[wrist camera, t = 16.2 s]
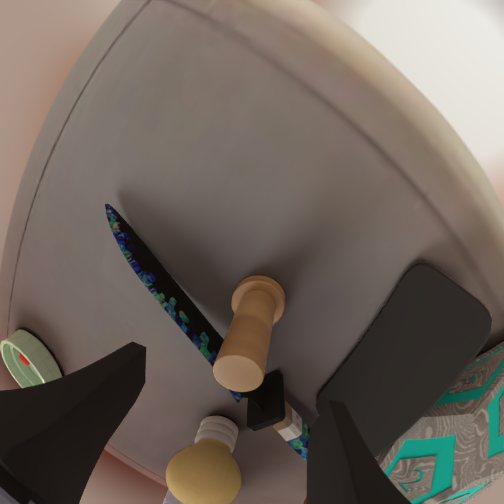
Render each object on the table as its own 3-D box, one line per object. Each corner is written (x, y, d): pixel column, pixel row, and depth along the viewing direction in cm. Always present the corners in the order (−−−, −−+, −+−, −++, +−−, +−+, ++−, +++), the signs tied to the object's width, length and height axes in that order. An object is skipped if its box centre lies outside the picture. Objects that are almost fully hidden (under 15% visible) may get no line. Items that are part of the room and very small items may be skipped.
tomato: (36, 356, 28) (25, 353, 27) (32, 348, 27) (20, 344, 26) (33, 369, 26) (21, 365, 26) (28, 361, 25) (15, 357, 24)
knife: (345, 451, 23) (346, 485, 18) (318, 460, 23) (316, 493, 19) (149, 180, 21) (113, 180, 16) (124, 204, 22) (87, 208, 17)
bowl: (71, 399, 29) (57, 415, 26) (24, 368, 30) (11, 380, 26) (58, 348, 26) (40, 364, 23) (10, 316, 26) (-7, 328, 23)
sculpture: (490, 323, 25) (309, 498, 23) (499, 247, 19) (244, 494, 16) (560, 371, 14) (363, 571, 12) (603, 303, 8) (317, 612, 5)
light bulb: (191, 433, 26) (162, 506, 17) (188, 396, 24) (150, 480, 15) (250, 445, 26) (232, 523, 16) (256, 410, 24) (236, 502, 14)
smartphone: (308, 404, 22) (415, 253, 17) (315, 401, 22) (419, 254, 18) (361, 468, 16) (501, 318, 11) (366, 463, 17) (502, 317, 12)
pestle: (276, 326, 21) (264, 408, 13) (228, 312, 21) (195, 387, 13) (292, 283, 19) (288, 357, 12) (240, 268, 20) (207, 333, 12)
